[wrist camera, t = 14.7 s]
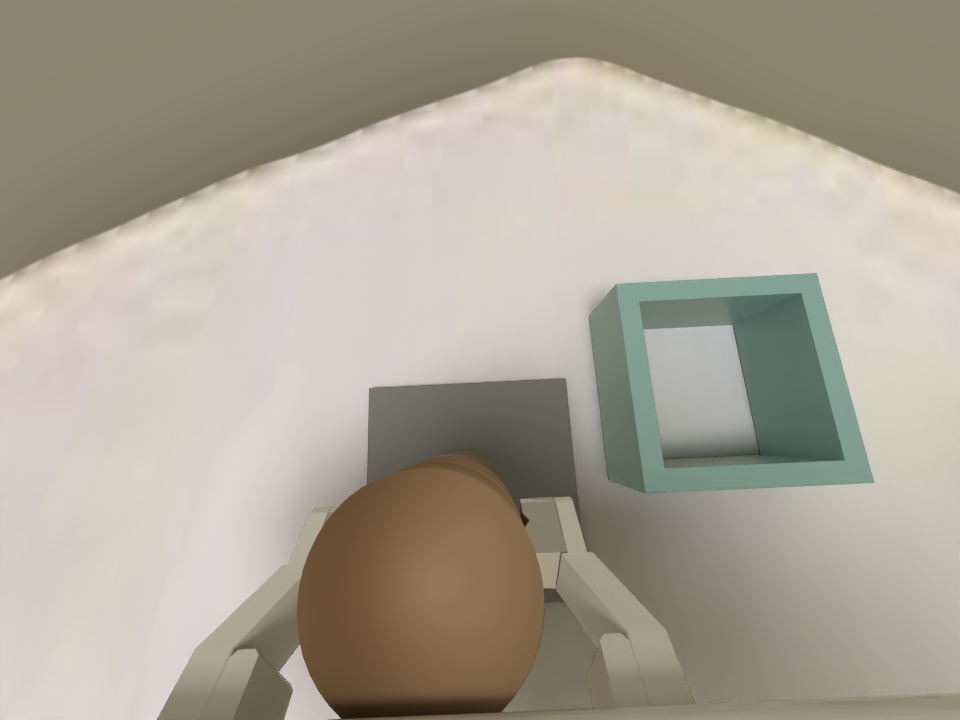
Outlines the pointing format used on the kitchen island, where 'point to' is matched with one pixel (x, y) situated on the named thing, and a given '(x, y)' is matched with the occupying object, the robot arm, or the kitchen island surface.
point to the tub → (768, 377)
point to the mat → (479, 433)
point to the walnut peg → (422, 594)
